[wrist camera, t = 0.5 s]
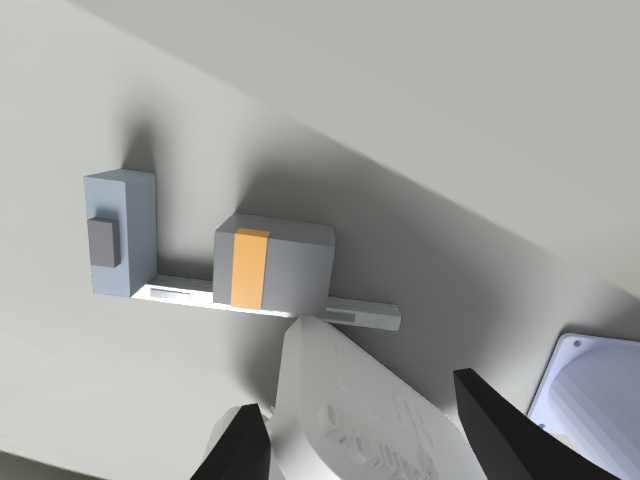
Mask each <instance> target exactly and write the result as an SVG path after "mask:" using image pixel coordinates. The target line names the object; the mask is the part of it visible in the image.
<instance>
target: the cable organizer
mask: <svg viewBox="0 0 640 480" xmlns="http://www.w3.org/2000/svg"><path fill="white" fill-rule="evenodd" d="M240 408H241V406H237V407H233V408H231V409H230V410H228V411H227V412H226V413H225V414H224V416H223V417H222V418H221V419H220V420H219V421H218V422H217V423H216V424H215V426H214V428H213V430H212V433H211V436H210V439H209V442H208V445H207V448H206V451H205V454H204V457H203V460H202V463H203V462H204V460H205V459H206V458H207V456H208V455H209V453H210V452H211V450H212V449H213V448H214V446H215V445H216V443H217V442H218V440H219V439H220V438H221V436H222V435H223V433H224V432H225V430H226V429H227V427H228V426H229V424H230V423H231V421H232V420H233V418H234V417H235V415H236V414H237V412H238V411H239V410H240ZM271 409H272V414H273V416H272V417H271V418H270V419H269V418H267V417H266V416H264V415H263V414H261V415H262V418H263V421H264V424H265V426H266V429H267V432H268V435H269V438H270V441H271V444H272V445H271V460H270V471H269V478H268V480H488V479H487V477H486V476H485V474H484V472H483V470H482V468H481V466H480V464H479V462H478V460H477V458H476V456H475V454H474V453H473V451H472V449H471V447H470V445H469V443H468V442H467V440H466V438H465V437H464V436H463V434H462V433H461V432H460V430H459V429H458V428H457V427H456V425H455V424H454V423H453V422H452V421H451V420H450V419H449V418H448V417H447V416H446V415H445V414H444V413H443V412H442V411H440V410H439V409H438V408H437V407H435V406H434V405H433V404H432V403H430V402H429V401H428V400H427V399H425V398H424V397H423V396H421V395H420V394H419V393H418V392H416V391H415V390H414V389H413V388H411V387H410V386H409V385H407V384H406V383H405V382H404V381H402V380H401V379H400V378H399V377H397V376H396V375H395V374H393V373H392V372H391V371H390V370H388V369H387V368H386V367H385V366H383V365H382V364H381V363H379V362H378V361H377V360H376V359H374V358H373V357H372V356H371V355H369V354H368V353H367V352H365V351H364V350H363V349H362V348H360V347H359V346H358V345H357V344H355V343H354V342H353V341H351V340H350V339H349V338H348V337H346V336H345V335H344V334H343V333H341V332H340V331H339V330H337V329H336V328H335V327H334V326H332V325H331V324H330V323H328V322H323V321H322V320H320V319H319V318H316V317H315V316H311V315H303V314H302V315H301V316H300V317H299V318H298V319H297V320H296V321H295V322H294V323H293V324H292V325H291V326H290V327H289V329H288V330H287V331H286V332H285V335H284V342H283V350H282V358H281V366H280V374H279V382H278V389H277V397H276V405H275V408H274V407H273V406H272V405H271ZM202 463H201V464H202Z"/></svg>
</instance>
